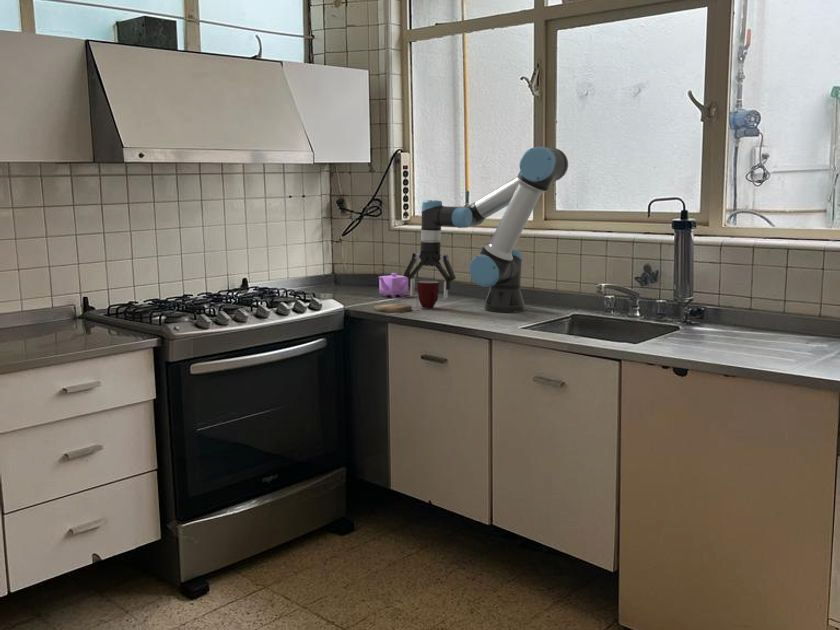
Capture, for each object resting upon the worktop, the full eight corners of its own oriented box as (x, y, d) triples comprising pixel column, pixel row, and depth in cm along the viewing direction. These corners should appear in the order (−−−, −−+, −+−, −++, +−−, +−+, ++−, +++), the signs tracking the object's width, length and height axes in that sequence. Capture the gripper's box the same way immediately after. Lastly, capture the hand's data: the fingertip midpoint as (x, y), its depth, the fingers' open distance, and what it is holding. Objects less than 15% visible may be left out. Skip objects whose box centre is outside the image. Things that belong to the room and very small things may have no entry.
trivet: (417, 308, 328) (417, 305, 328) (403, 313, 315) (403, 310, 315) (383, 306, 333) (383, 302, 333) (368, 310, 320) (368, 307, 320)
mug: (446, 309, 328) (447, 283, 326) (429, 310, 323) (430, 284, 322) (429, 305, 336) (429, 280, 335) (412, 307, 331) (413, 281, 330)
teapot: (389, 300, 351) (390, 276, 349) (368, 296, 360) (368, 273, 358) (421, 296, 363) (421, 273, 362) (399, 293, 373) (399, 270, 371)
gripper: (465, 242, 325) (462, 298, 328) (403, 238, 334) (402, 293, 337) (458, 243, 318) (456, 300, 321) (396, 239, 327) (394, 295, 330)
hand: (428, 297), depth 329 cm, fingers open, 13 cm apart
